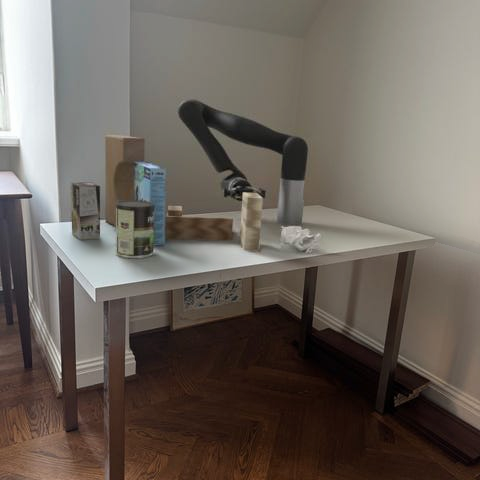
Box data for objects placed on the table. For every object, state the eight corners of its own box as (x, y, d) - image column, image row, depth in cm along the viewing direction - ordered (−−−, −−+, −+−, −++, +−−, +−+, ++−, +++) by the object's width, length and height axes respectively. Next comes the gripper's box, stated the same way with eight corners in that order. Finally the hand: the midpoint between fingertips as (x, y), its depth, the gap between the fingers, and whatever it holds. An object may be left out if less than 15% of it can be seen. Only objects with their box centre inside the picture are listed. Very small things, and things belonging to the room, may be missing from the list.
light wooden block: (253, 242, 150) (256, 193, 147) (258, 250, 141) (262, 198, 137) (239, 241, 150) (242, 192, 146) (243, 250, 140) (247, 197, 136)
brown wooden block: (226, 229, 165) (227, 210, 163) (231, 240, 151) (233, 218, 149) (160, 227, 161) (161, 207, 159) (159, 238, 147) (160, 216, 146)
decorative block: (105, 221, 164) (104, 134, 157) (125, 220, 169) (125, 135, 162) (122, 231, 153) (123, 137, 146) (143, 229, 158) (145, 138, 150)
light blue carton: (164, 245, 140) (167, 168, 134) (148, 246, 138) (149, 168, 132) (148, 230, 157) (149, 161, 151) (133, 230, 154) (134, 161, 149)
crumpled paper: (272, 229, 144) (300, 219, 151) (271, 247, 148) (298, 237, 154) (299, 244, 136) (327, 233, 143) (297, 264, 140) (324, 252, 146)
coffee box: (101, 238, 142) (100, 185, 138) (79, 240, 139) (78, 186, 135) (91, 231, 150) (91, 181, 146) (71, 233, 146) (70, 181, 142)
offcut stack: (181, 230, 160) (182, 205, 158) (181, 237, 151) (182, 211, 149) (166, 229, 160) (167, 204, 157) (166, 236, 150) (166, 210, 148)
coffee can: (155, 249, 135) (156, 201, 131) (151, 259, 125) (152, 207, 122) (118, 247, 134) (119, 199, 130) (112, 257, 124) (112, 205, 121)
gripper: (220, 177, 167) (226, 184, 151) (259, 179, 169) (269, 185, 153) (220, 198, 168) (225, 206, 153) (258, 199, 171) (267, 207, 155)
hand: (247, 196), depth 153 cm, fingers open, 8 cm apart
